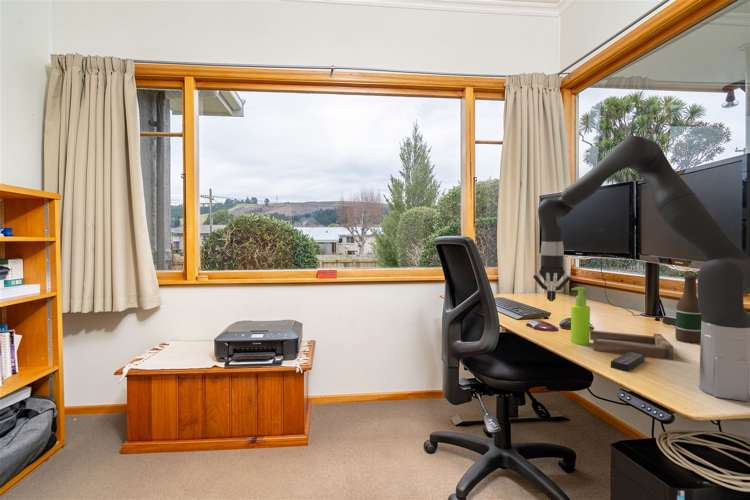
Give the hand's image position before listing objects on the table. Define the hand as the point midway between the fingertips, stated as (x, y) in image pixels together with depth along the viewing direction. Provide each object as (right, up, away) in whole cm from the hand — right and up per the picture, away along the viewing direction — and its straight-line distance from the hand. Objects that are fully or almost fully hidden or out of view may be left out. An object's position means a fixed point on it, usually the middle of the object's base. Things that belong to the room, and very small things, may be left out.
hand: (551, 300), depth 140 cm
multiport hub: (+11, -16, -25) cm, 32 cm away
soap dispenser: (+8, -15, -3) cm, 17 cm away
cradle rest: (+22, -15, -10) cm, 28 cm away
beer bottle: (+49, -15, -2) cm, 51 cm away
